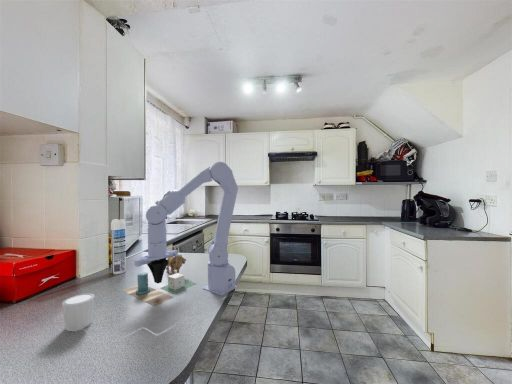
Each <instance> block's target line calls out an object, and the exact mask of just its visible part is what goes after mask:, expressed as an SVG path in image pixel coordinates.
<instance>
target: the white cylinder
mask: <svg viewBox="0 0 512 384" xmlns="http://www.w3.org/2000/svg"><path fill="white" fill-rule="evenodd" d="M95 296H96V295H95V294H94V293H81V294H77V295H74V296H70V297H68V298H66V299H64V300H63V301H62V302H61V305H62V312H63V318H64V325H65V326H64V327H65V331H66V330H68V331H74V332H79V331H81V330H84V329H85V328H86V327H88V326H90V325H91V324H92V323H93V321H94V320H93V319H94V309H95ZM78 330H79V331H78ZM68 331H67V332H68Z"/></svg>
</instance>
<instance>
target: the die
mask: <svg viewBox="0 0 512 384" xmlns="http://www.w3.org/2000/svg"><path fill="white" fill-rule="evenodd" d="M167 280H168V281H167V285H168V288H171V289H174V290H176V289H179V288H181V287H184V286H185V280H186V279H185V274H183V273H180V272H179V273H177V272H176V273H174V274H173V275H172V274H171V275H168V276H167Z"/></svg>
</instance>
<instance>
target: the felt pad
mask: <svg viewBox="0 0 512 384" xmlns="http://www.w3.org/2000/svg"><path fill="white" fill-rule="evenodd" d="M184 280H185V286H184V287H181V288H179V289H176V290H174V289H171V288H168V284H166V285H164V286H162V287H160V289H161V290H164V291H165V292H168V293H172V295H174V294H177V293H179V292H181V291H184V290H186V289H188V288H190V287H192V286H195V285H197V282H194V281H190V280H188V279H184Z"/></svg>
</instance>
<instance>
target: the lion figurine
mask: <svg viewBox="0 0 512 384" xmlns="http://www.w3.org/2000/svg"><path fill="white" fill-rule="evenodd" d="M166 260H168V265H167V266H166V268H165V270H166V271H165V273H167V274H169V273H170V272H171V275H173V274H175V271H176V273H179V274H180V269H181V268H182V266H183V265H185V264H186V261H187V259H186V258H184V257H183V254H178V256H173V257H169V258H166Z"/></svg>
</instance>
